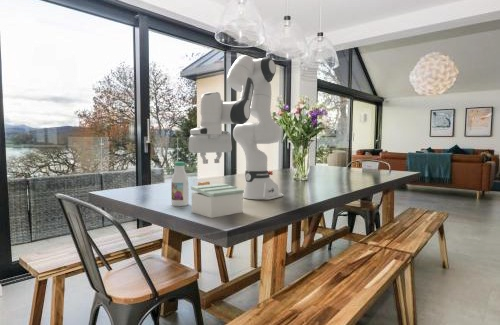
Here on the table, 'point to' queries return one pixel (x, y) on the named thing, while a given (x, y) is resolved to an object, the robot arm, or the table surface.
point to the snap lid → (216, 189)
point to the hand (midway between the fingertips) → (211, 163)
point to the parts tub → (217, 204)
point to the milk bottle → (180, 186)
